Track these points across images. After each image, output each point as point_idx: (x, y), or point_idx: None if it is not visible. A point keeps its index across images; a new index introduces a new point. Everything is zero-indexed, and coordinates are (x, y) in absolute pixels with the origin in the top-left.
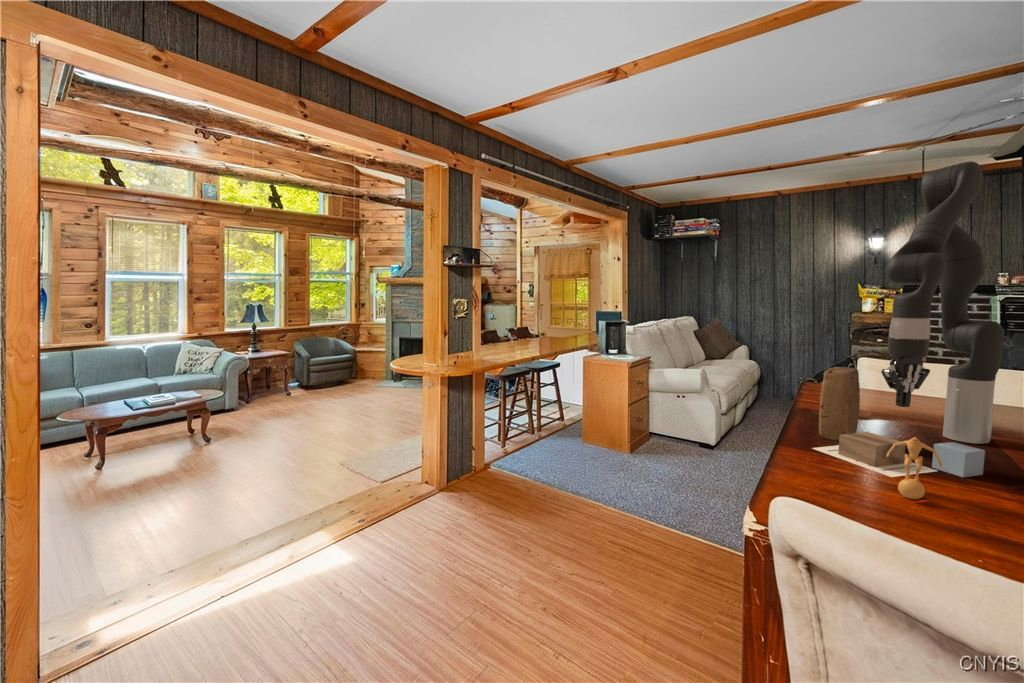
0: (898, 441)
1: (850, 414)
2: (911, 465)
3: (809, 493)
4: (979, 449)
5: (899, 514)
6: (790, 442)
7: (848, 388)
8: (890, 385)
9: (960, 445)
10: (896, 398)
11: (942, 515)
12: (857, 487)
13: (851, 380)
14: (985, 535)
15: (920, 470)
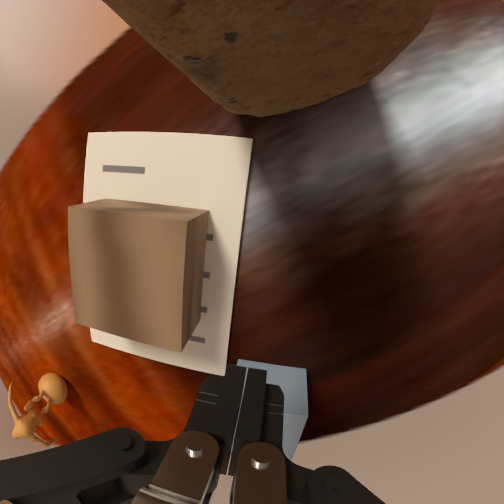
0: (172, 336)
1: (237, 95)
2: (203, 334)
3: None
4: (287, 454)
5: (25, 380)
6: (97, 68)
7: (140, 34)
8: (94, 448)
9: (284, 432)
10: (198, 398)
11: (62, 409)
12: (24, 324)
13: None
14: (68, 434)
15: (46, 412)
